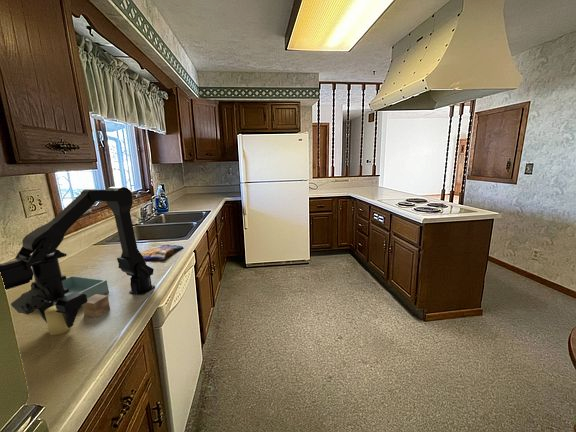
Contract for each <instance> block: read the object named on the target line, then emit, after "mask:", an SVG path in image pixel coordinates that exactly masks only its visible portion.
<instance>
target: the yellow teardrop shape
mask: <svg viewBox="0 0 576 432" xmlns="http://www.w3.org/2000/svg"><path fill="white" fill-rule="evenodd" d="M56 311H58V310H57V308H56V305H55V306H52V307H50V308H48V309H46V310H45V312H44V313H45V317H46V321H47V323H46V324H47V329H48V333H49V335H50V336H58V335H62V334H64V333H66V332H68V331H69V330H71V328H72V327H70V328H68V327H67V325H66V323H65V320H64V317H63V315H62V314H61V313H58V312H56Z"/></svg>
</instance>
